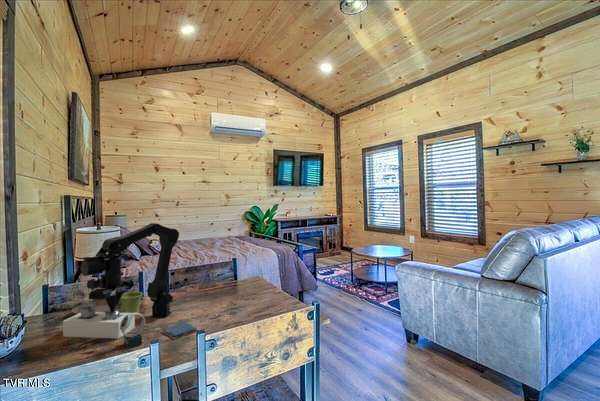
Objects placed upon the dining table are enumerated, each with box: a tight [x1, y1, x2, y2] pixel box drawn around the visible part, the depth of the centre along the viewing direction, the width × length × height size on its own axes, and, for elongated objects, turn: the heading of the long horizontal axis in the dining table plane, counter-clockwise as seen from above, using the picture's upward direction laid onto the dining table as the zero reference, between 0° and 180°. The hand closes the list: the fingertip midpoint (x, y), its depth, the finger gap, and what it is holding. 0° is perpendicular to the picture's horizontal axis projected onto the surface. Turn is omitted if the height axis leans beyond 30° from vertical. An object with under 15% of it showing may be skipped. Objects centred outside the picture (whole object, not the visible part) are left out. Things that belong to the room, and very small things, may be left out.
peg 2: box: [105, 309, 120, 320], centre depth 121 cm, size 5×5×6 cm
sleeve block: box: [62, 312, 136, 340], centre depth 121 cm, size 22×10×6 cm, turn 87°
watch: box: [120, 312, 146, 350], centre depth 111 cm, size 6×8×11 cm
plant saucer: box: [71, 299, 122, 316], centre depth 143 cm, size 21×21×3 cm
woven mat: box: [161, 321, 199, 340], centre depth 122 cm, size 10×11×2 cm
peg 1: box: [81, 304, 95, 319], centre depth 122 cm, size 5×5×6 cm
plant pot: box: [120, 291, 143, 313], centre depth 141 cm, size 9×9×9 cm
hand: (112, 310), depth 121 cm, fingers closed, pressing on peg 2
